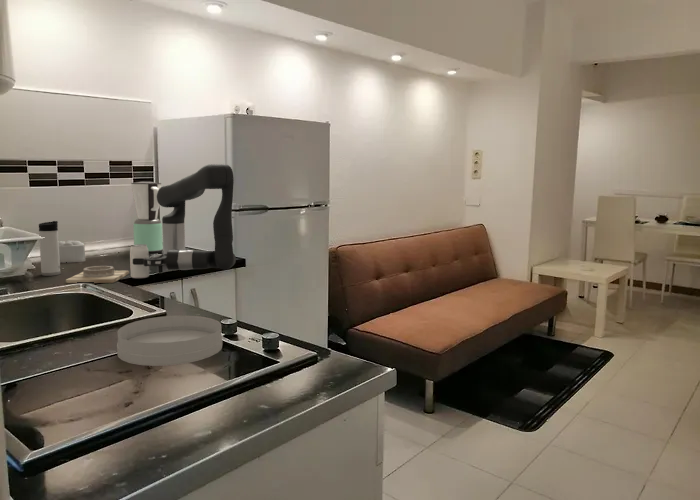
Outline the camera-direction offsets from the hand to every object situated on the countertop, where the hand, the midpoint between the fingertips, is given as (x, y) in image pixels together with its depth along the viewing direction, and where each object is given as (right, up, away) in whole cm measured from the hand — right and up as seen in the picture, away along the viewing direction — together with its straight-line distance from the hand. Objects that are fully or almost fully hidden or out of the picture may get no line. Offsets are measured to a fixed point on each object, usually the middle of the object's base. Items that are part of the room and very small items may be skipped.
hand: (136, 259), depth 201 cm
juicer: (-17, +1, +60) cm, 62 cm away
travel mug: (-33, -6, +3) cm, 34 cm away
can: (+1, -7, +1) cm, 7 cm away
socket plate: (-13, -7, -2) cm, 15 cm away
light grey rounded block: (-44, -1, +36) cm, 57 cm away
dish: (+40, -19, -81) cm, 93 cm away
